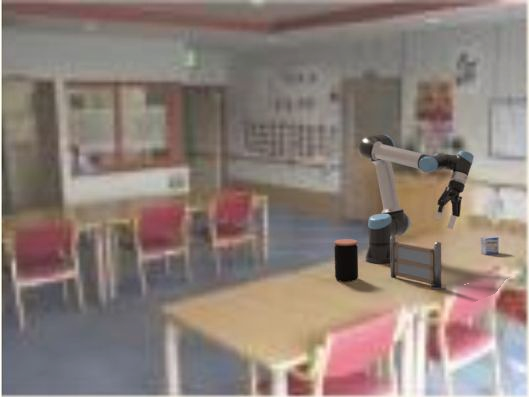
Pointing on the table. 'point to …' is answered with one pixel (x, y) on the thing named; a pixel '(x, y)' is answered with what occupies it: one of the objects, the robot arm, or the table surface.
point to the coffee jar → (346, 260)
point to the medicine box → (489, 245)
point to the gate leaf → (414, 262)
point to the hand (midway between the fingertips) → (444, 223)
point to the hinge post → (437, 268)
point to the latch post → (392, 256)
